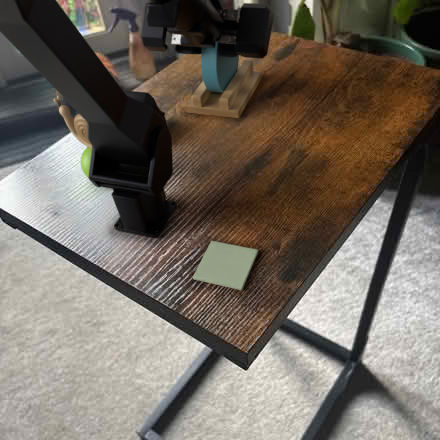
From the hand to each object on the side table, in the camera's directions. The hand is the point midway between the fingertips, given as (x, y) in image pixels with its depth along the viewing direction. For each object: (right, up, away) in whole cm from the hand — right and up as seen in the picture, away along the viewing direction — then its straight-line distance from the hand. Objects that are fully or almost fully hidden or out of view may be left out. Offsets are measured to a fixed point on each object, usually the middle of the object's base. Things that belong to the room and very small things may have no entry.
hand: (223, 50), depth 72 cm
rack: (0, -5, +4) cm, 7 cm away
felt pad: (0, -35, -18) cm, 39 cm away
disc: (0, -1, 0) cm, 1 cm away
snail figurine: (-17, -21, -5) cm, 28 cm away
